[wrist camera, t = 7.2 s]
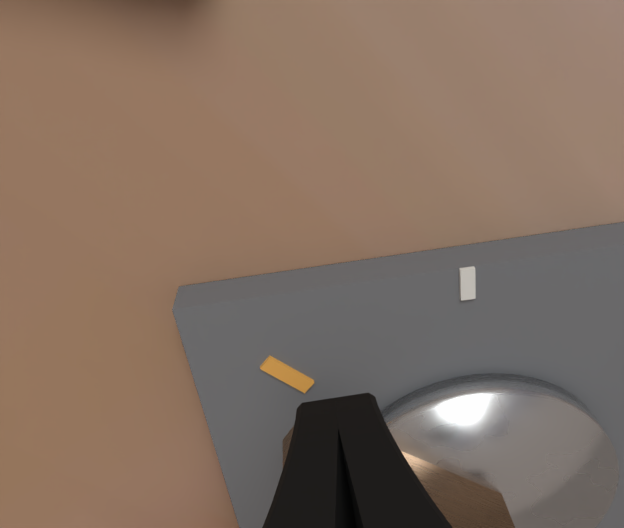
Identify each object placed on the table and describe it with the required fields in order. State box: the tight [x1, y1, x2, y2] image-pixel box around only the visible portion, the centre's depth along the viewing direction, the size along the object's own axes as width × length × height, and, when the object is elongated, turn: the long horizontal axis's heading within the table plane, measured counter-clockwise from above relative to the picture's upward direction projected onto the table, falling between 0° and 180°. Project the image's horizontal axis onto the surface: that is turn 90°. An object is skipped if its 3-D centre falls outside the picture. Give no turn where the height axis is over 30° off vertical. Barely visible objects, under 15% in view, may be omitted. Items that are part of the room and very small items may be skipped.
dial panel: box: [172, 222, 624, 528], centre depth 25 cm, size 20×20×2 cm
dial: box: [283, 373, 619, 528], centre depth 22 cm, size 14×11×5 cm
